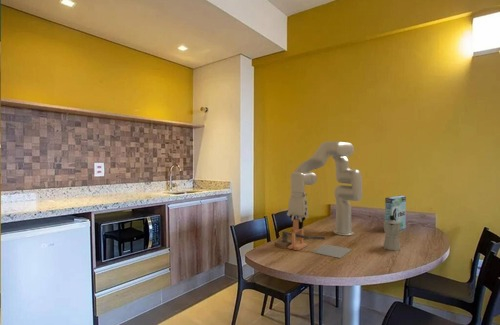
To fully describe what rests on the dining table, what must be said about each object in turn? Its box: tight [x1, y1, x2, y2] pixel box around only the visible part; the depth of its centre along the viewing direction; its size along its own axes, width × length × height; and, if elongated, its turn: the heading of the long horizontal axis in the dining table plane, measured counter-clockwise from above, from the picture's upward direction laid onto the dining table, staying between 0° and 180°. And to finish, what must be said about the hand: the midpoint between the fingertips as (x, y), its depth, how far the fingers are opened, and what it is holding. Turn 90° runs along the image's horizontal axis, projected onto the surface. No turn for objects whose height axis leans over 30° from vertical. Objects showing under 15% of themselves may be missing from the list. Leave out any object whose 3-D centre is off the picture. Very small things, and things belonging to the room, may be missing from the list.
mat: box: [311, 243, 353, 260], centre depth 152 cm, size 17×15×1 cm
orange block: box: [287, 217, 308, 251], centre depth 158 cm, size 10×6×15 cm, turn 142°
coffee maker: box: [382, 215, 401, 252], centre depth 158 cm, size 15×9×18 cm, turn 151°
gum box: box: [384, 195, 407, 231], centre depth 198 cm, size 20×5×23 cm, turn 126°
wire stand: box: [274, 230, 326, 249], centre depth 157 cm, size 10×26×8 cm, turn 52°
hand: (297, 227), depth 158 cm, fingers closed on orange block, 3 cm apart
